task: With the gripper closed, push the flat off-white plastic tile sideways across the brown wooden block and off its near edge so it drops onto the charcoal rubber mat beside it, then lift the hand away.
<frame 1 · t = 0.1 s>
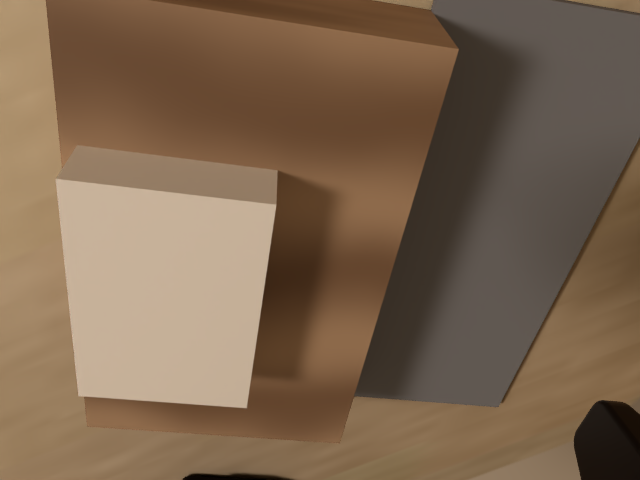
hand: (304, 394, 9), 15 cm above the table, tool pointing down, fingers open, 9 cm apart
mat: (474, 242, 25), on the table
tile: (175, 272, 21), point 4 cm above the table, touching brown wooden block
brown wooden block: (241, 215, 24), on the table
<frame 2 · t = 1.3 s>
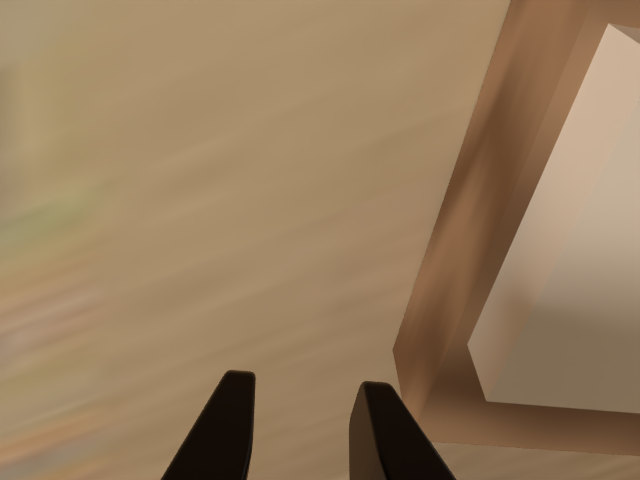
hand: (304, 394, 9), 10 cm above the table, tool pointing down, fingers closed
tile: (639, 227, 15), point 4 cm above the table, touching brown wooden block
brown wooden block: (636, 160, 18), on the table
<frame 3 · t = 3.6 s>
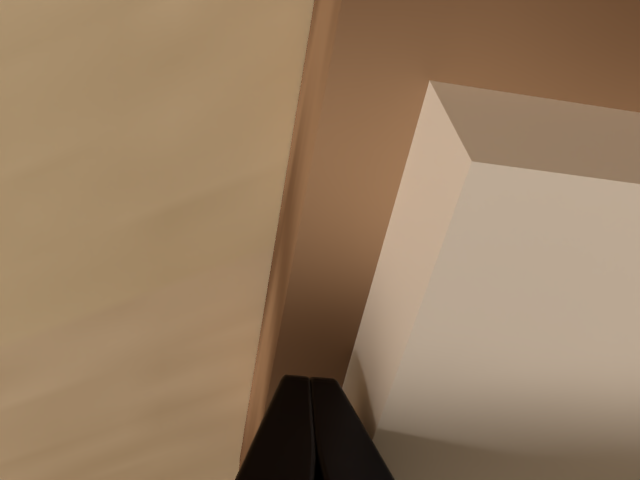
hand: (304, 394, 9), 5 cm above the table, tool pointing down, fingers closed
tile: (528, 363, 10), point 4 cm above the table, touching brown wooden block, gripper
brown wooden block: (522, 237, 13), on the table
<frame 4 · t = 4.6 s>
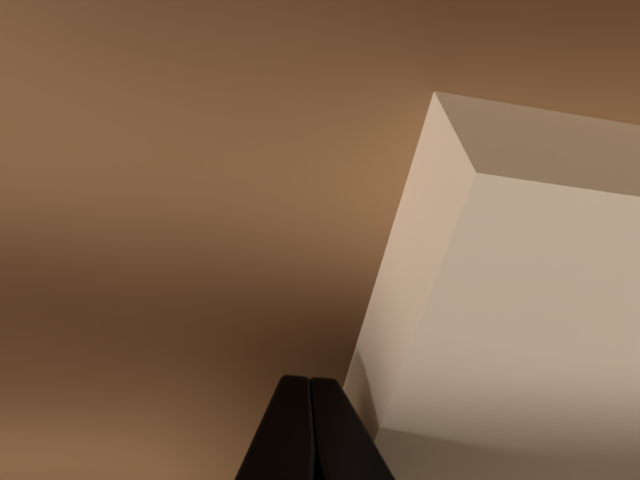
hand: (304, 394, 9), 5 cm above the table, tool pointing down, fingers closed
tile: (526, 370, 10), point 4 cm above the table, touching gripper
brown wooden block: (263, 206, 13), on the table
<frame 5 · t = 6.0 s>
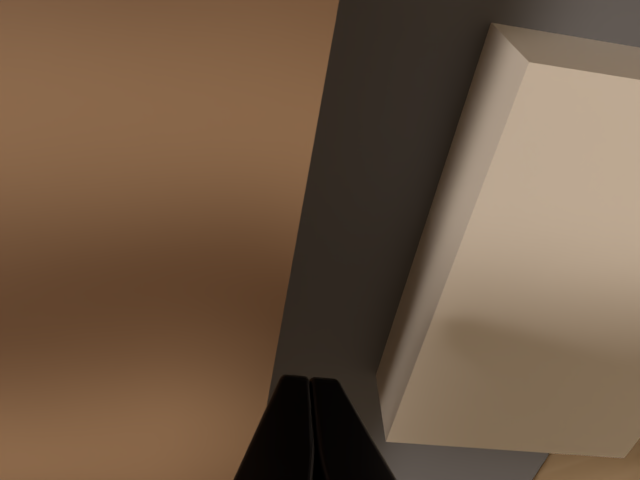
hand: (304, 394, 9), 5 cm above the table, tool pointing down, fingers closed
mat: (481, 230, 13), on the table
tile: (588, 311, 12), point 2 cm above the table, tilted 180°, touching mat
brown wooden block: (10, 173, 12), on the table
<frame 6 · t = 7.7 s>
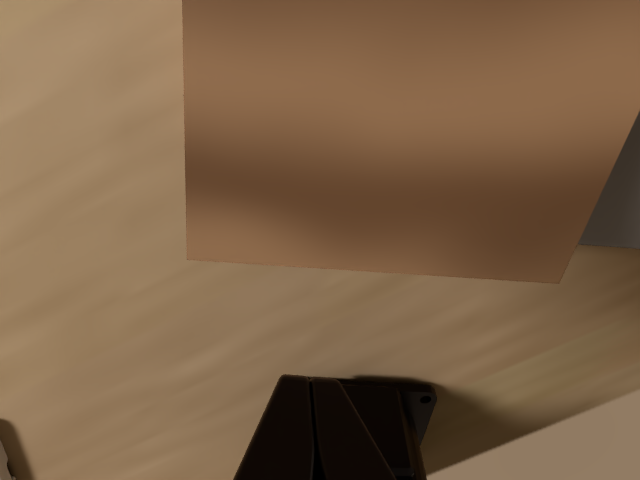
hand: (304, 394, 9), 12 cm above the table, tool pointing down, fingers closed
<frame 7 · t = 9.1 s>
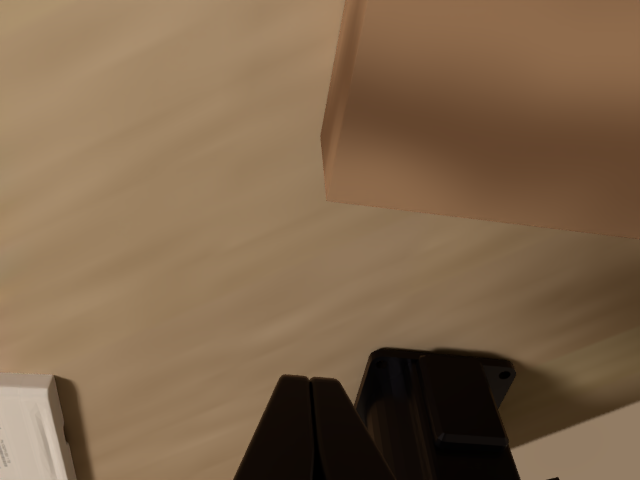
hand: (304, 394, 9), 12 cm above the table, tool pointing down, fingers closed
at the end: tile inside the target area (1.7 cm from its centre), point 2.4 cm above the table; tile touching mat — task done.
